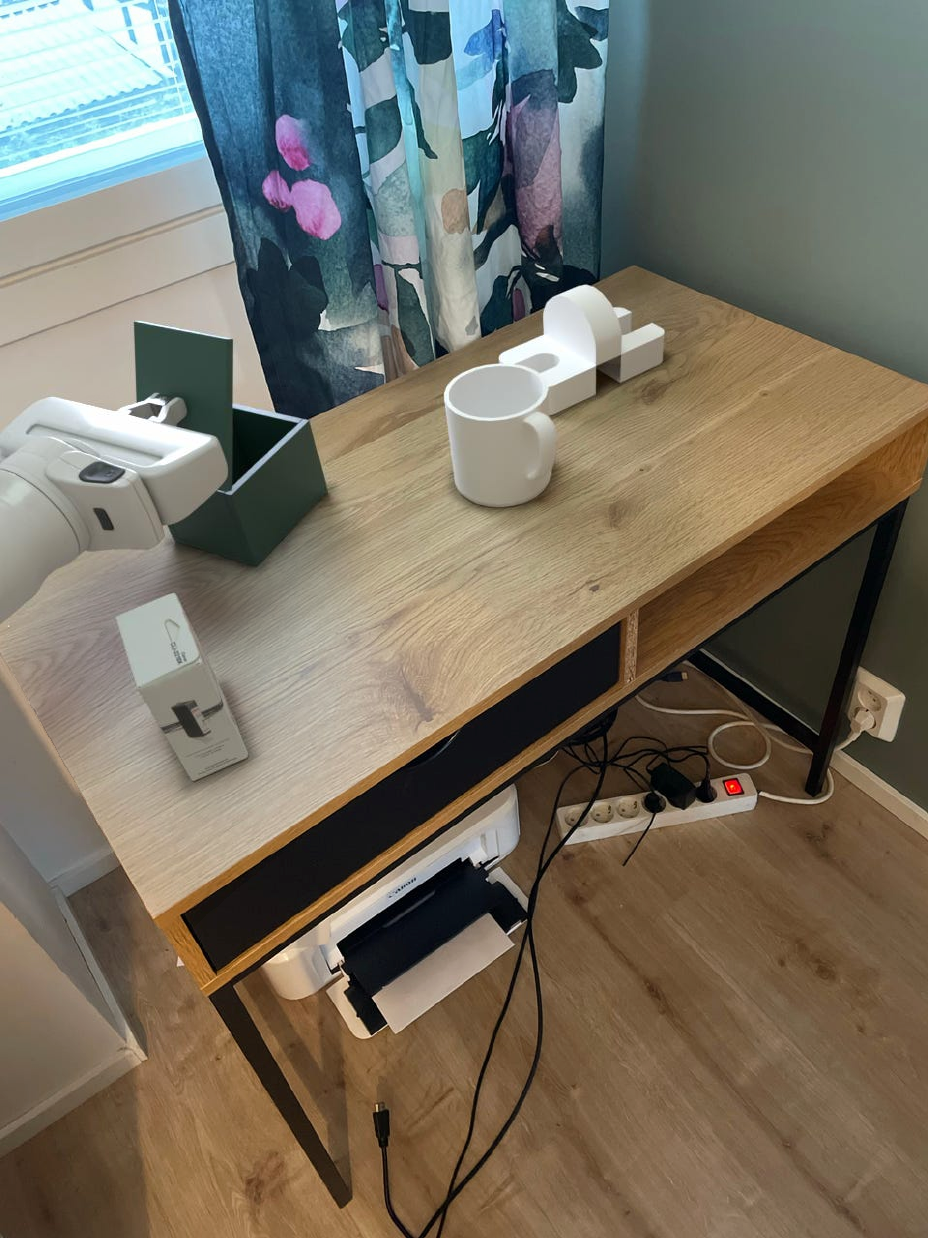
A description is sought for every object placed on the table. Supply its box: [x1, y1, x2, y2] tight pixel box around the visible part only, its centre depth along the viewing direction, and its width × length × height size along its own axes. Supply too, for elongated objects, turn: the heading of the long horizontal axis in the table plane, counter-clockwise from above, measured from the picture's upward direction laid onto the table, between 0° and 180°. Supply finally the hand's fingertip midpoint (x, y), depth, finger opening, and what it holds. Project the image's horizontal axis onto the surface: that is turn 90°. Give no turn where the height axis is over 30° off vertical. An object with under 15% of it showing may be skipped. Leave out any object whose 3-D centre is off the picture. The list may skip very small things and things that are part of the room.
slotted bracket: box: [498, 284, 665, 416], centre depth 102 cm, size 18×10×10 cm, turn 123°
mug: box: [443, 363, 558, 508], centre depth 88 cm, size 13×10×10 cm
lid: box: [133, 320, 234, 492], centre depth 80 cm, size 13×11×1 cm
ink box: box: [114, 592, 249, 782], centre depth 69 cm, size 8×5×12 cm, turn 27°
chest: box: [166, 402, 328, 568], centre depth 89 cm, size 13×11×9 cm
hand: (173, 402), depth 79 cm, fingers closed
